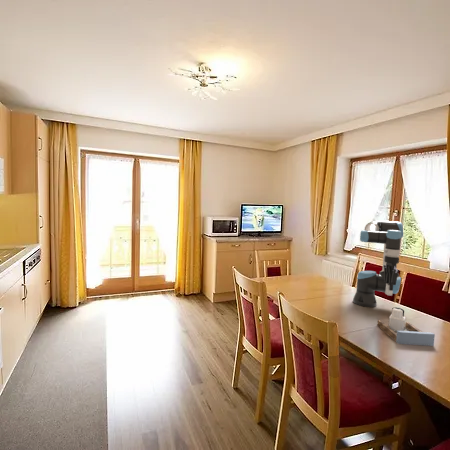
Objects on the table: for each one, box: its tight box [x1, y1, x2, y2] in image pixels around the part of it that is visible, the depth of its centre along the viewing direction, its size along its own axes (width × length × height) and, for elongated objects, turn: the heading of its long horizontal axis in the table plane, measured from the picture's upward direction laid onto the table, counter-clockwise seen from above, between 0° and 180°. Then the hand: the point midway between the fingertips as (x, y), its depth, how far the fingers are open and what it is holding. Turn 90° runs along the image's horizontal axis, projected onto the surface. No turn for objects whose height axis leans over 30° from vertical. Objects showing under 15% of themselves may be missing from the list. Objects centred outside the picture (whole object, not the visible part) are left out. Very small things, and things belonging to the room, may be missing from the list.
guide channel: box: [377, 319, 423, 342], centre depth 154 cm, size 20×17×3 cm
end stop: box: [395, 330, 436, 347], centre depth 143 cm, size 2×17×6 cm, turn 87°
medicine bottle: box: [387, 306, 407, 332], centre depth 160 cm, size 7×7×12 cm
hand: (388, 294), depth 170 cm, fingers closed
